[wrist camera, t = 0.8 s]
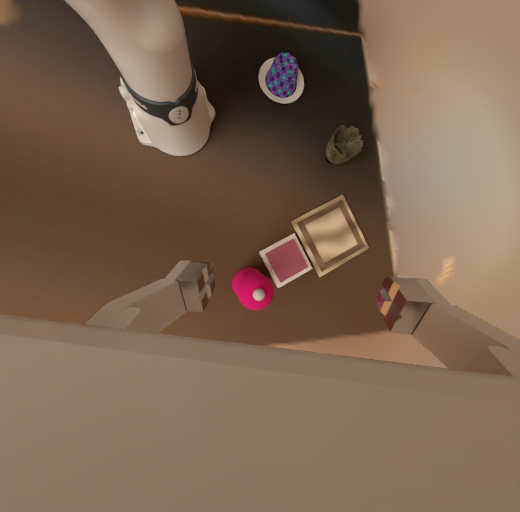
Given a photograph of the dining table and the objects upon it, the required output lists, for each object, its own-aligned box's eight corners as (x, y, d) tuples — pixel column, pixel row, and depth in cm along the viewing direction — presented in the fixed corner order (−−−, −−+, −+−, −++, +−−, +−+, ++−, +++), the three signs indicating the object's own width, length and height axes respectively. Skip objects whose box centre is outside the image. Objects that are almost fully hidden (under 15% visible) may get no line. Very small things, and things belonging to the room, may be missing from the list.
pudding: (252, 63, 50) (254, 41, 45) (295, 57, 52) (302, 34, 47) (266, 109, 51) (270, 92, 45) (308, 101, 53) (317, 84, 47)
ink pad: (258, 252, 49) (259, 251, 47) (292, 233, 51) (295, 232, 49) (277, 287, 50) (279, 288, 48) (310, 268, 51) (313, 268, 49)
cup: (345, 147, 54) (365, 128, 46) (342, 174, 53) (362, 159, 45) (319, 142, 52) (335, 120, 44) (316, 169, 52) (332, 152, 44)
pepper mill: (237, 262, 48) (244, 263, 28) (265, 272, 49) (290, 280, 29) (227, 291, 48) (227, 312, 28) (255, 300, 49) (274, 327, 29)
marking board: (290, 221, 51) (291, 221, 50) (341, 195, 53) (343, 194, 52) (318, 276, 51) (320, 277, 51) (367, 248, 54) (369, 248, 53)
